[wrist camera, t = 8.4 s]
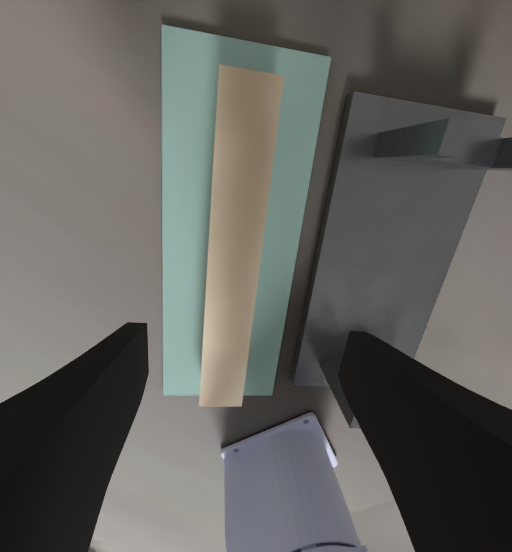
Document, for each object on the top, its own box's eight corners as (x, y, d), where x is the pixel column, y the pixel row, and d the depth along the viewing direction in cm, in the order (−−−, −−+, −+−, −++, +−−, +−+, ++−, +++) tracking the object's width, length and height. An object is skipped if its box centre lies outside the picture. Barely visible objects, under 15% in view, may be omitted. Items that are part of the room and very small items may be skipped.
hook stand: (290, 377, 24) (313, 449, 18) (346, 95, 16) (417, 55, 10) (396, 379, 25) (450, 445, 19) (492, 120, 18) (627, 97, 12)
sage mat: (164, 390, 23) (163, 395, 22) (163, 28, 14) (161, 24, 14) (271, 391, 24) (272, 395, 24) (328, 60, 16) (331, 57, 15)
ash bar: (201, 376, 22) (198, 406, 19) (219, 82, 15) (219, 64, 12) (239, 377, 23) (241, 406, 20) (273, 91, 16) (284, 76, 13)
